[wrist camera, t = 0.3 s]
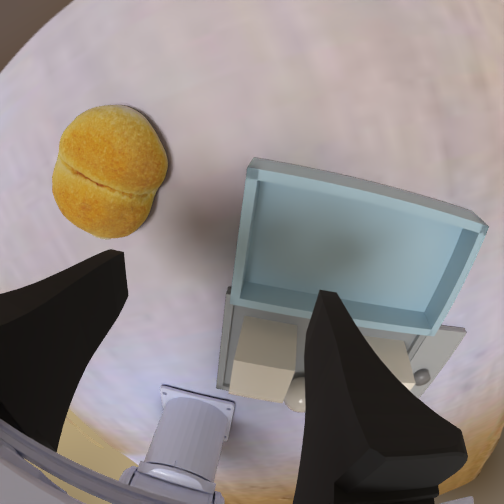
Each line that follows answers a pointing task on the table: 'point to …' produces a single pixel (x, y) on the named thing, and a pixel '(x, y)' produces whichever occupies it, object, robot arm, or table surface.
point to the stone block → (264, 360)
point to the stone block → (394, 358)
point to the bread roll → (108, 171)
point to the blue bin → (350, 248)
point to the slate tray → (418, 346)
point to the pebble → (296, 395)
